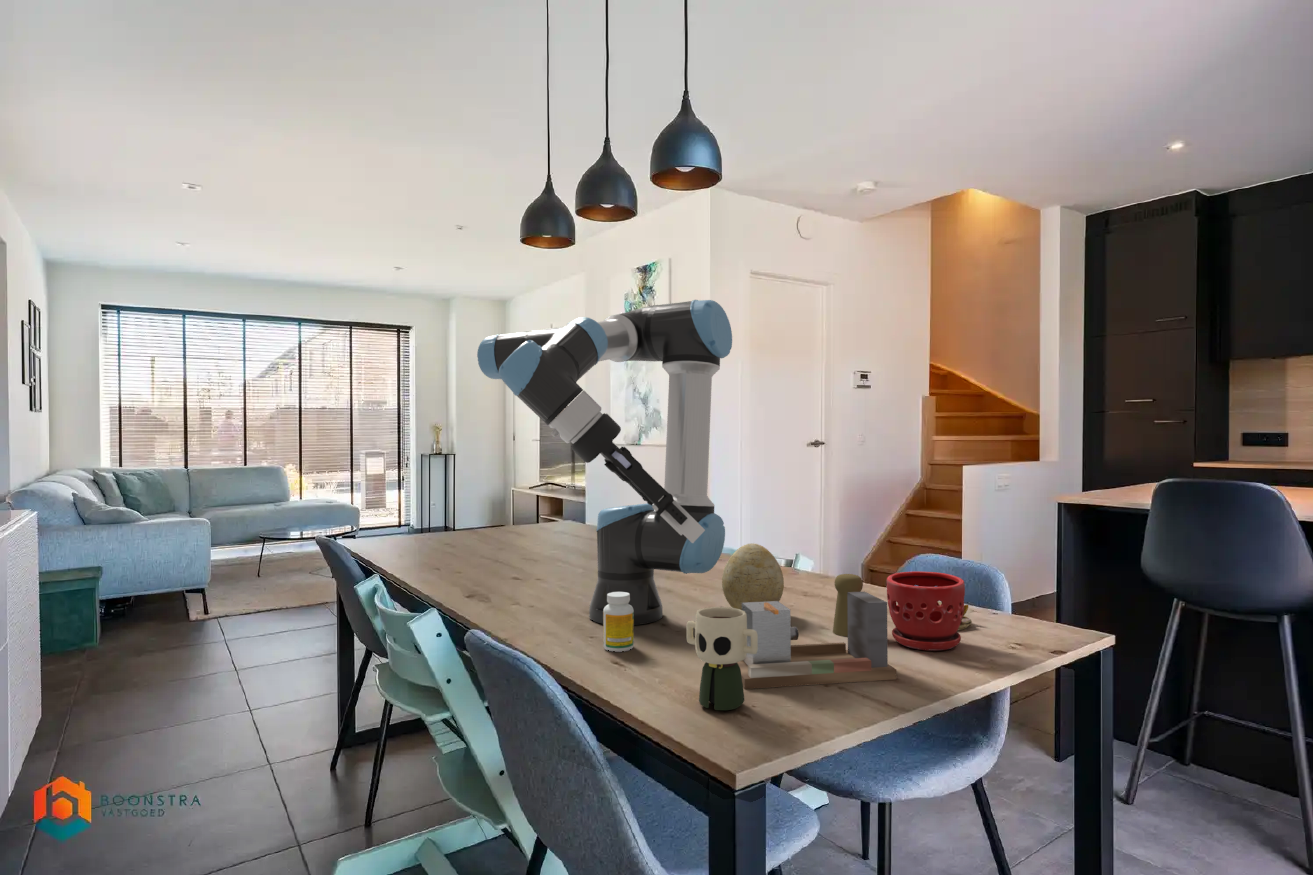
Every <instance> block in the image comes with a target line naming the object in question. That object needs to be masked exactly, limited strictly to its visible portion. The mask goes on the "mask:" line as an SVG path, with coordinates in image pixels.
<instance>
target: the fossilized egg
mask: <svg viewBox="0 0 1313 875" xmlns="http://www.w3.org/2000/svg"><path fill="white" fill-rule="evenodd" d="M721 576H722V578H721V588H722V592H723V595H724V597H725V599H726V602H727V603H728V604H729V606H730V608H736V609H740V610H742V603H746V602H768V601H778V602H780V601H781V599H782V596H783V593H784V587H785V582H784V574H783V570H782V568H781V566H780V564H779V562H778V560H777V559H776V558H775V556H774V555H773V554H772V552H770V550H769V549H767V548H766V547H764V546H763V545H761V544H759V543H755V542H753V543H747V544H743V545H741V547H739V548H738V549H736V550H735V551H734V553H732V554H731V556H730V557H729V558H728V560H727V562H726V564H725V566H724V569H723V572H722V575H721Z"/></svg>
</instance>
